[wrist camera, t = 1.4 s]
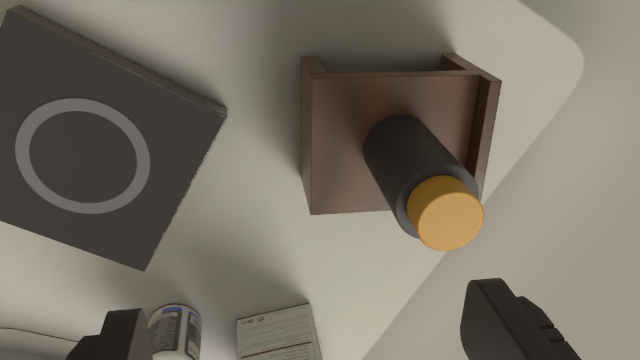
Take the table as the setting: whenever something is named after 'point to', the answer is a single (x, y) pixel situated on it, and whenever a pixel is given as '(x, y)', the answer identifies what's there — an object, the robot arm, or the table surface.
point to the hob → (94, 141)
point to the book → (32, 346)
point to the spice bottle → (423, 183)
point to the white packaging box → (279, 336)
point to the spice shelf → (378, 104)
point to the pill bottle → (175, 333)
